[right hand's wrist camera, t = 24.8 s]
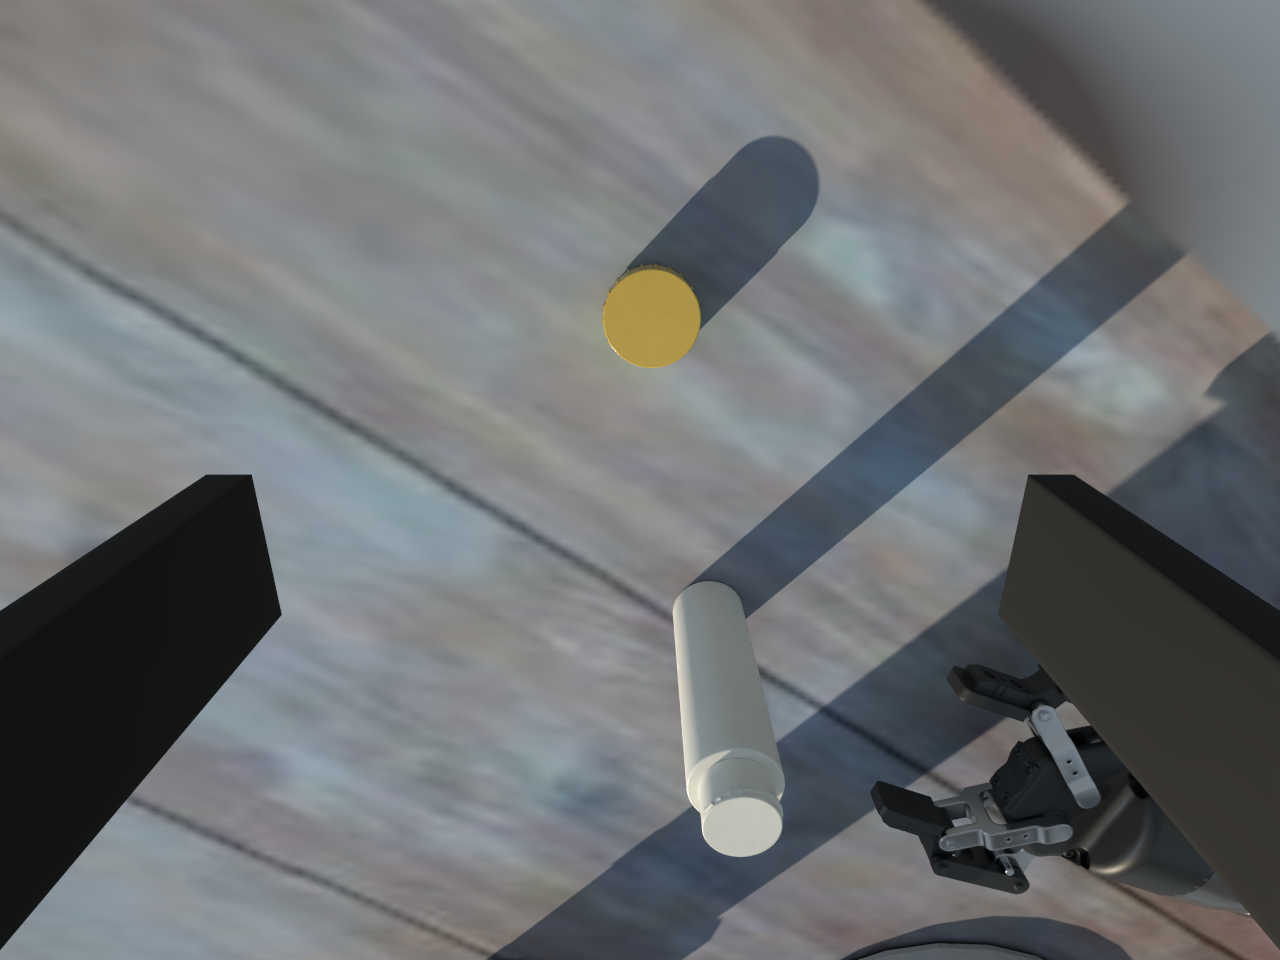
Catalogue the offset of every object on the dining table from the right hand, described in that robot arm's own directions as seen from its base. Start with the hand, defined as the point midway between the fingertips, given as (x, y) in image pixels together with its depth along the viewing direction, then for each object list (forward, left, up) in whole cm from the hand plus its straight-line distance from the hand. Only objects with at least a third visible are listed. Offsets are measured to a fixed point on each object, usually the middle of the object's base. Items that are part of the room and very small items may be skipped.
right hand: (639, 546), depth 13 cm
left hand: (+20, +17, -20) cm, 33 cm away
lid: (0, +1, -25) cm, 25 cm away
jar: (+17, +6, -27) cm, 33 cm away
